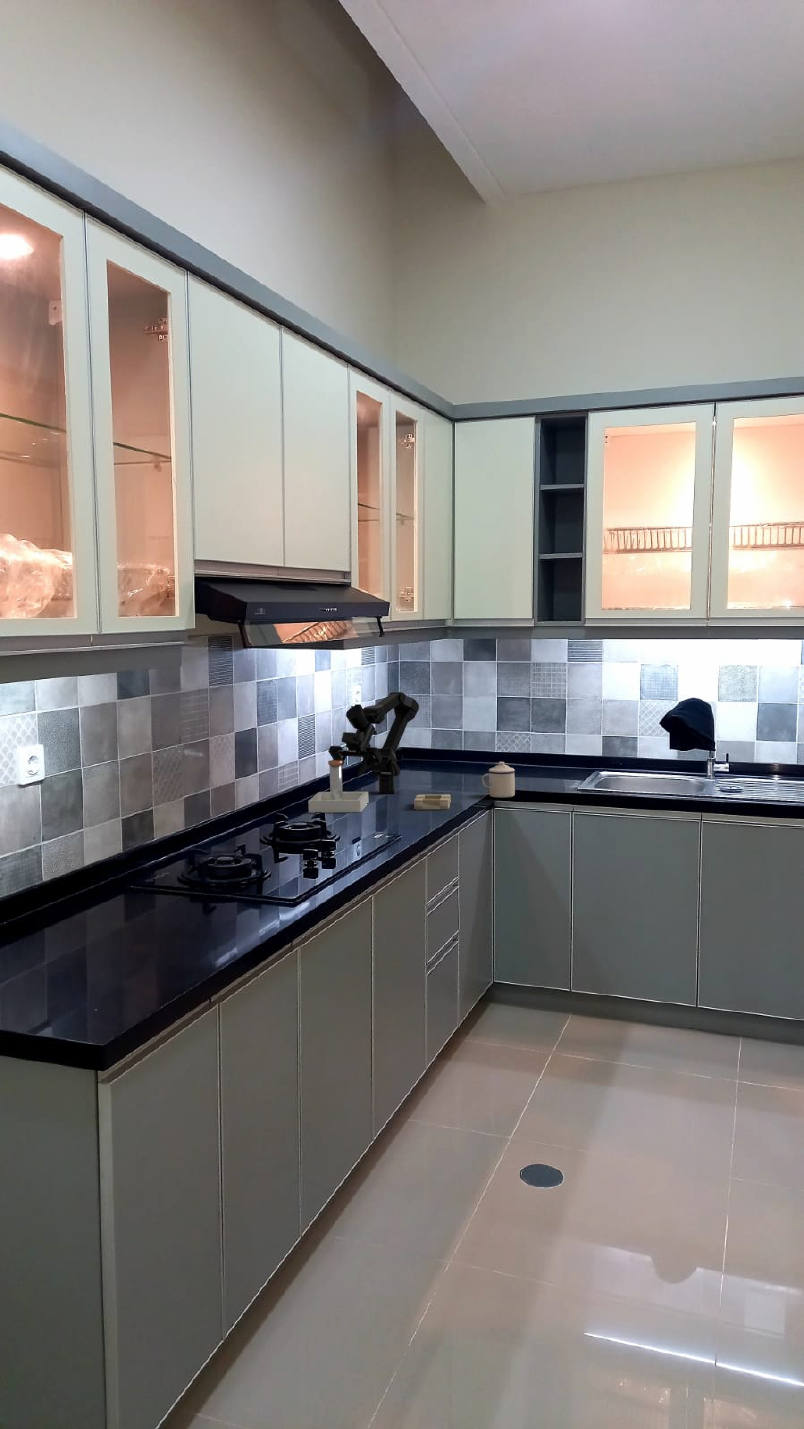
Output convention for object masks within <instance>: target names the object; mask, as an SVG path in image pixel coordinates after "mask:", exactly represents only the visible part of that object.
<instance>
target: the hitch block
mask: <svg viewBox="0 0 804 1429" xmlns="http://www.w3.org/2000/svg"><path fill="white" fill-rule="evenodd" d="M413 801H414V802H413V804H414V806H413V807H414V808H413V809H416V811H417V810H449V808H450V807H451V806H450V805H451V804H450V803H451V794H449V793H444V794H439V793H438V794H436V793H435V794H426V793H425V794H417V795H416V796H415V798H414V800H413Z"/></svg>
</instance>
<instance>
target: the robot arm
mask: <svg viewBox="0 0 804 1429" xmlns="http://www.w3.org/2000/svg"><path fill="white" fill-rule="evenodd" d="M419 709H420V705H419V703H418V701H417V700H416V699H415V698H413V697H411V696H409V695H406V694H405V693H404V692H402V691H392V692H389V694H388V695H387V696H385V697H384V698H383V699H381V700H380V701H378V702H377V703H376V704H373V705H368V706H365V707H362V704H359V703H357V704H356V703H355V704H354V706H352V707H350V708H349V709H348V710H347V711H346V712H345V717H346V719H347V721H348V722H349V724H350V725H351V726H352V728H353V729H355V730H356V731H355V732H350V731H349V732H348V731H347V732H346V731H344V732H342V737H341V743H344V744H345V747H346V749H343V747H342V746H341V745H331V746H329V748H328V751H327V752H328V754H329V755H330V756H331V758H332V760H343V764H342V767H343V765H344V764H345V760H346V759H347V757H354V758H362V762H361V764H360V766H359V768H358V771H357V776H359V777H360V776H361V775H363V774H364V773H365V772H366V771H368V770H370V768H371V773H372V776H377V777H378V778H377V779H378V780H377V781H378V790H377V791H376V794H395V793H396V792H397V791H398V790H397V789H396V787H395V783H396V782H395V777H399V776H400V774H401V768H400V766H399V764H398V763H397V761H398V760H397V756H396V752H397V750H398V747H399V745H400V742H401V739H402V738H403V736H404V733H405V731H406V728H407V725H408V723H410V722H411V721H412V720H413V719H415V718H416V716H417V713H418V712H419ZM392 710H393V712H394V716H395V717H394V720H393V722H392V725H391V726H390V729H389V731H388V734H387V736H386V739H385V741H384V743H383V746H382V747H380V748H378V746H377V747H374V746H371V744H370V742H371V740H372V737H373V736H377V735H378V733H377V730H376V727H375V726H374V725H380V724H382V723H383V722H384V720H385V719H386V714H388V713H389V712H390V711H392Z"/></svg>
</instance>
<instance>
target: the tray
mask: <svg viewBox="0 0 804 1429" xmlns="http://www.w3.org/2000/svg"><path fill="white" fill-rule="evenodd" d="M367 803H368V804H369V791H343V800H331V794H330V791H319V792H317V793H316V794H315V795H313V797H311V798H310V799H309V800H308V813H315V812H322V813H361V812H362V811H363V810H364V809H365V808H366V806H368V804H367Z"/></svg>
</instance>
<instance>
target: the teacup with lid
mask: <svg viewBox="0 0 804 1429" xmlns="http://www.w3.org/2000/svg"><path fill="white" fill-rule="evenodd" d="M515 772H516V769H514V768H513V767H510V766H509V765H507V764H505V762H504V761H499V762H498V764H497V765H495V766H494V767H491V768H489V769H488V773H485V774H484V775H483V776H482V777H481V782H482V784H483V786H484V787H485V788H487V789H489V796H490V797H491V798H492V797H493V798H498V799H499V798H500V799H501V798H512V797H514V796H515V794H516V789H515V788H516V787H515V786H516V784H515V781H516V780H515ZM486 777H488V779H489V785H488V784H487V783H486V780H485V779H486Z"/></svg>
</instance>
